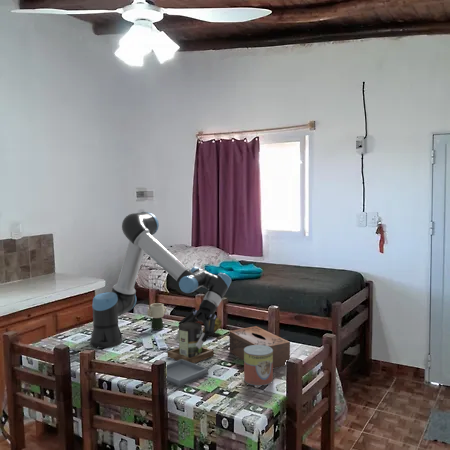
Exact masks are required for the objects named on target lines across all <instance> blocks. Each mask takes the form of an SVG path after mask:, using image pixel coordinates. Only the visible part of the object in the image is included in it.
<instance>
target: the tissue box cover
mask: <svg viewBox="0 0 450 450" xmlns="http://www.w3.org/2000/svg"><path fill="white" fill-rule="evenodd" d="M228 333H229V337H228V338H229V339H228V340H229V353H231V354H232V355H233V356H235V357H237V358H238V359H240V360H242V361H243V360H244V348H245V347H247V346H250V345H265V346H269V347H271V348H272V349H273V368H274V369H278V368H281V366H282V367H285V366H284V365H285V362H286V360H289V359H290V360H291V341H289V340H287V339H284V338H282V337H281V336H278V335H276V334H274V333H272V332H270V331H268V330H265V329H263V328H261V327H260V326H257V325H255V326H250V327H244V328H240V329H234V330H229V332H228ZM277 367H278V368H277Z"/></svg>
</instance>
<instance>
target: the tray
mask: <svg viewBox="0 0 450 450" xmlns="http://www.w3.org/2000/svg"><path fill="white" fill-rule="evenodd" d="M166 365H167V382H166V383H168V384H171V385H173V386H176V387H179V388H181V387H183V386H185V385H189V384H190V383H193V382H194V381H196V380H198V379H202V378H203V377H206V376H208V375H209V368H208V367H205V366H203V365H200V364H198V363H192V362H189V361H186V360H183V359H180V360H178V361H177V360H174V361H172V362H170V363H167V364H166Z"/></svg>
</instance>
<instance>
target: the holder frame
mask: <svg viewBox="0 0 450 450" xmlns="http://www.w3.org/2000/svg"><path fill="white" fill-rule="evenodd" d="M166 355H167V358H169V359H172V360H174V361H178V360H180V359H183V360H186V361H189V362H192V363H194V364H198V363H199V362H202V361H204V360H206V359H209V358H212V357H214V356H215V352H214V349H211V348H208V347H204V346H202V354H199V355H196V356H194V357H191V358H189V357H186V356H183V355H180V354H179V347H176V348H173V349H171V350H168V351H167V354H166Z"/></svg>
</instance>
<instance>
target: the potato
mask: <svg viewBox="0 0 450 450" xmlns="http://www.w3.org/2000/svg"><path fill="white" fill-rule="evenodd" d="M222 323H223V320H222V319H221V318H219V317H217V318H216V320H215V328H214V334H215V333H216V332H217V331H218V330H219V329H221V327H222ZM209 325H210V320H209ZM202 333H205V329H204V328H202Z"/></svg>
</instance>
